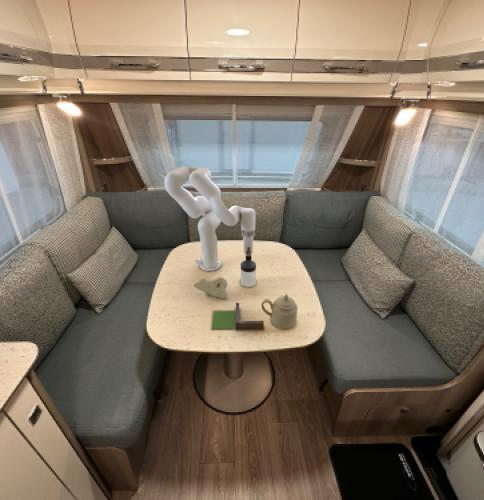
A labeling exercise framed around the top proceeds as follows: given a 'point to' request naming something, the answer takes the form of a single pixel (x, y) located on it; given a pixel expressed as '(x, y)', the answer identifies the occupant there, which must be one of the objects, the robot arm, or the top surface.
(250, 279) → the jar
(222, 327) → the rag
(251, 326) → the corner rail
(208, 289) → the khaki irregular lump
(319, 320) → the top surface
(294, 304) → the sugar bowl
